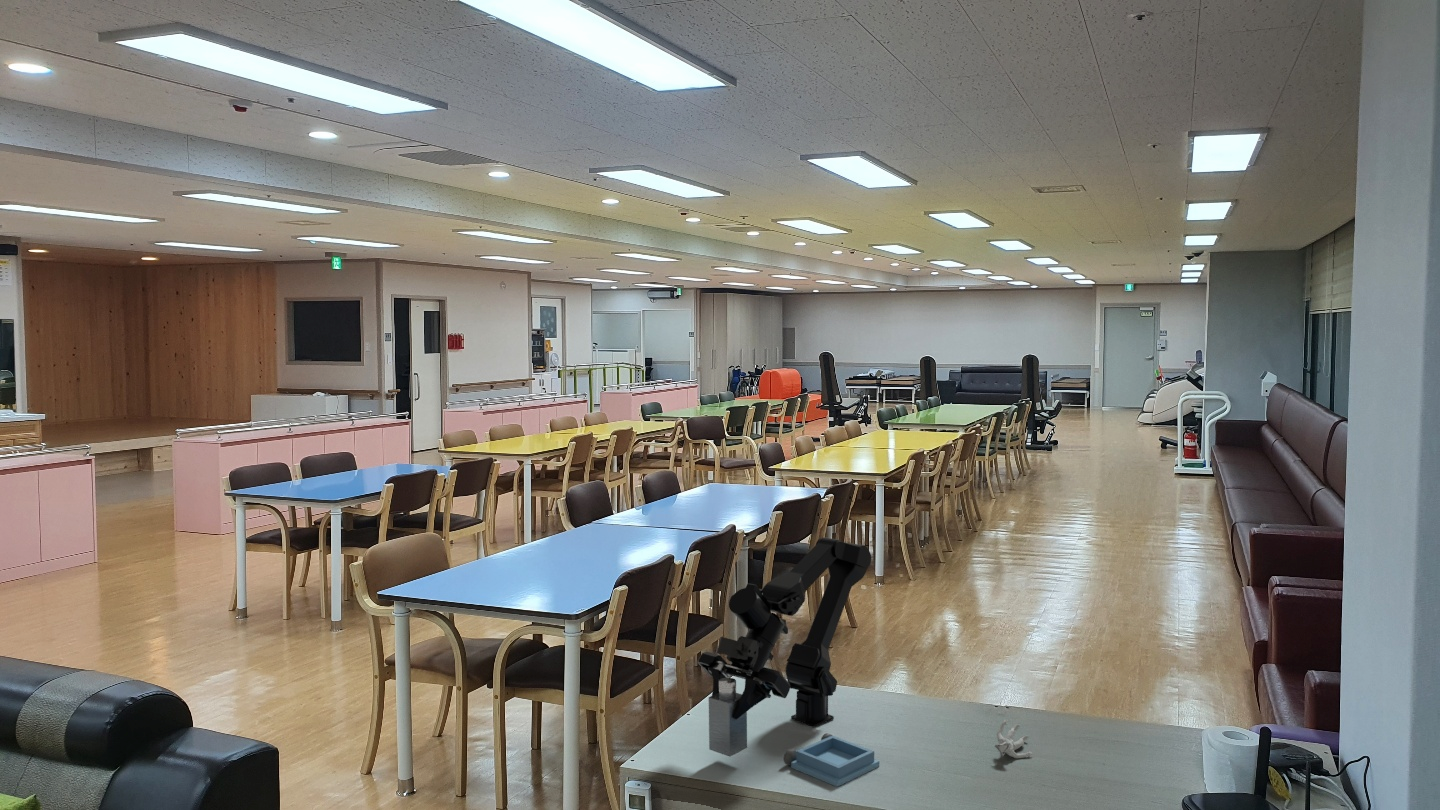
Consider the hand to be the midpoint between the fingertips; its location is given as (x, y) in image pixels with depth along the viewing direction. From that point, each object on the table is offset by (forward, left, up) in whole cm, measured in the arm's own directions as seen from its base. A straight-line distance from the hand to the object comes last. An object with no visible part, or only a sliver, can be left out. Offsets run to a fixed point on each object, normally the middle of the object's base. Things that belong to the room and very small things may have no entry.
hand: (722, 714), depth 192 cm
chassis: (-14, +15, -10) cm, 23 cm away
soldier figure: (-44, +34, -10) cm, 56 cm away
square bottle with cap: (-1, 0, -7) cm, 7 cm away
